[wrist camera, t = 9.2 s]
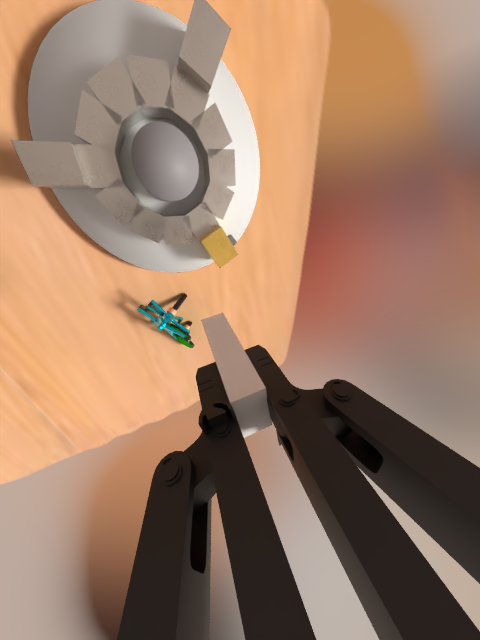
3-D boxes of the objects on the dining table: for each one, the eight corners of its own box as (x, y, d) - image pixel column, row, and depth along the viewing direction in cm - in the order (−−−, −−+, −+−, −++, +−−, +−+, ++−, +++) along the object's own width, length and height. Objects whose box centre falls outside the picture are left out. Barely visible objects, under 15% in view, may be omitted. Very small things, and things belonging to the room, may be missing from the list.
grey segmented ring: (163, 297, 30) (164, 310, 27) (21, 155, 19) (-11, 145, 16) (278, 210, 30) (295, 211, 26) (199, 13, 19) (209, -32, 15)
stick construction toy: (124, 307, 29) (159, 320, 25) (154, 273, 32) (190, 280, 28) (170, 345, 38) (201, 359, 35) (191, 316, 41) (221, 326, 37)
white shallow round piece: (-12, 169, 20) (-79, 156, 15) (123, -87, 16) (103, -243, 11) (185, 298, 34) (191, 318, 28) (287, 175, 29) (317, 169, 24)
